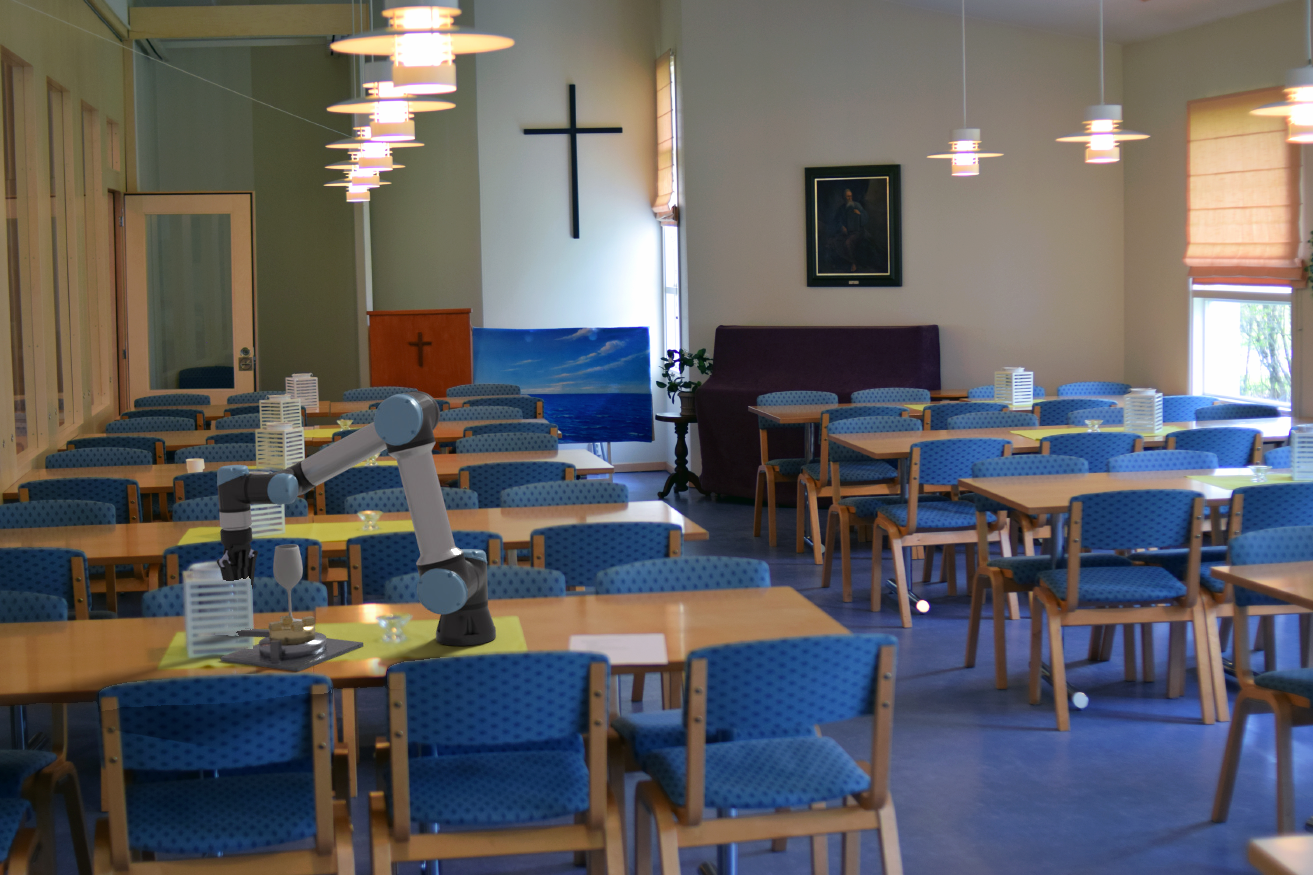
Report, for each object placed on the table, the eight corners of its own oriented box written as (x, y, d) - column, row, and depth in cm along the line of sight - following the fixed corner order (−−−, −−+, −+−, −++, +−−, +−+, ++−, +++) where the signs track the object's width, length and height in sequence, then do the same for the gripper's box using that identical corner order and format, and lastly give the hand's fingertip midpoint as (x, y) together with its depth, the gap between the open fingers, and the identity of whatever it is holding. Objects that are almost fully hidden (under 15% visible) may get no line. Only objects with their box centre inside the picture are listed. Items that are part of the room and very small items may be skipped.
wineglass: (276, 627, 349) (272, 550, 347) (276, 620, 356) (272, 544, 354) (305, 625, 351) (301, 548, 349) (305, 618, 358) (301, 543, 356)
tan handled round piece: (323, 633, 327) (321, 604, 326) (303, 644, 316) (301, 614, 315) (238, 630, 331) (236, 601, 330) (215, 641, 320) (213, 612, 320)
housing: (363, 646, 328) (362, 622, 328) (298, 671, 307) (297, 646, 306) (289, 637, 339) (287, 614, 338) (220, 660, 317) (219, 636, 317)
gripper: (241, 522, 333) (246, 612, 336) (205, 531, 321) (211, 625, 324) (265, 523, 330) (270, 615, 333) (230, 532, 318) (236, 627, 321)
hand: (241, 619), depth 328 cm, fingers closed
